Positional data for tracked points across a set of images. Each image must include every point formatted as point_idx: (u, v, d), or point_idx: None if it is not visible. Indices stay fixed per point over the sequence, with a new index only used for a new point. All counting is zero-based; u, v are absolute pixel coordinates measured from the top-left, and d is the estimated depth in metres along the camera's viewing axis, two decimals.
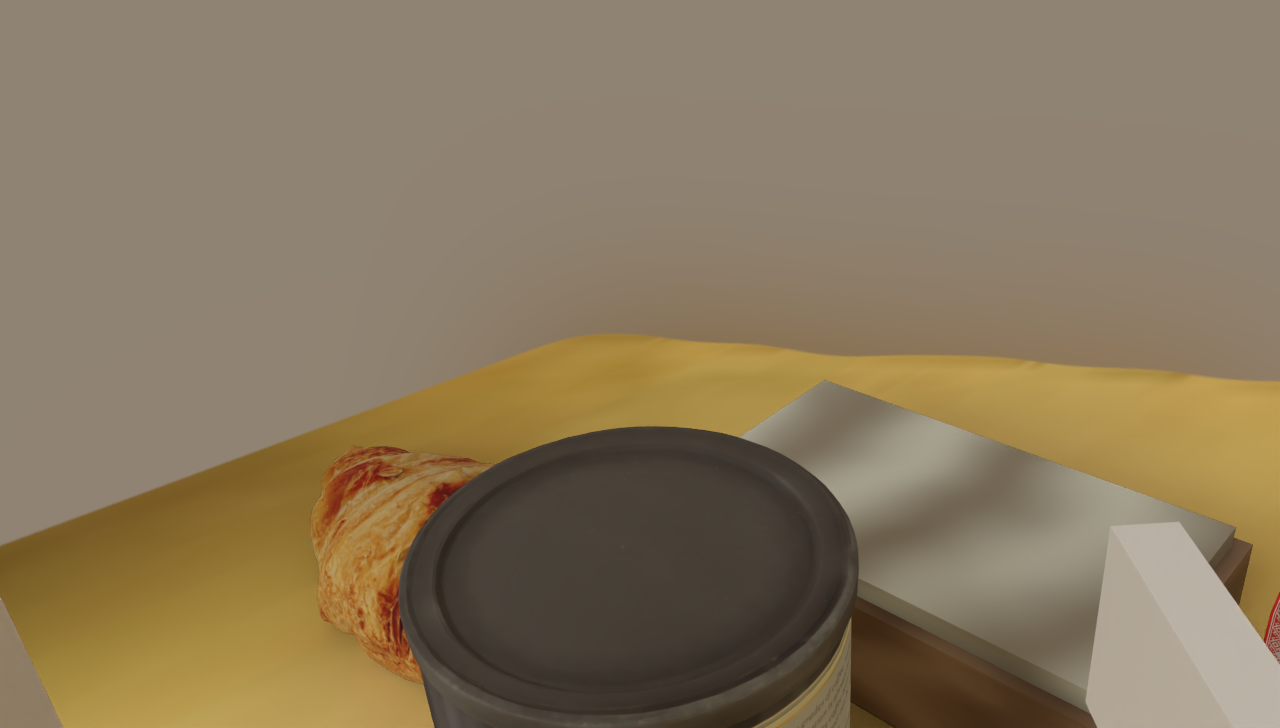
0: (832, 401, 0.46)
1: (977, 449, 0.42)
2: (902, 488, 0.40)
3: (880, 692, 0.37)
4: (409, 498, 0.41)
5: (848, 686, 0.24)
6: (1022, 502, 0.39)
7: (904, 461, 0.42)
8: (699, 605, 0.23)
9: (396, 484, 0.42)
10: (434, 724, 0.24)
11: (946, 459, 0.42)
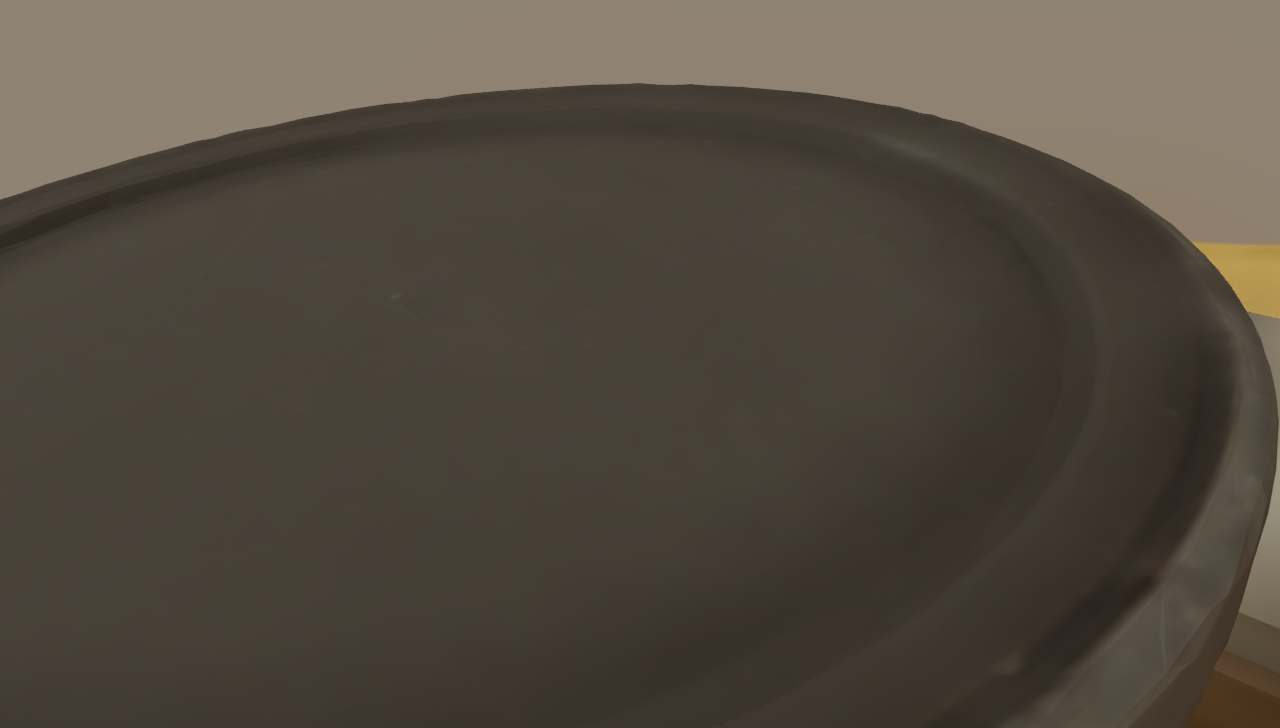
0: None
1: None
2: None
3: None
4: None
5: None
6: None
7: None
8: (632, 446, 0.06)
9: None
10: None
11: None
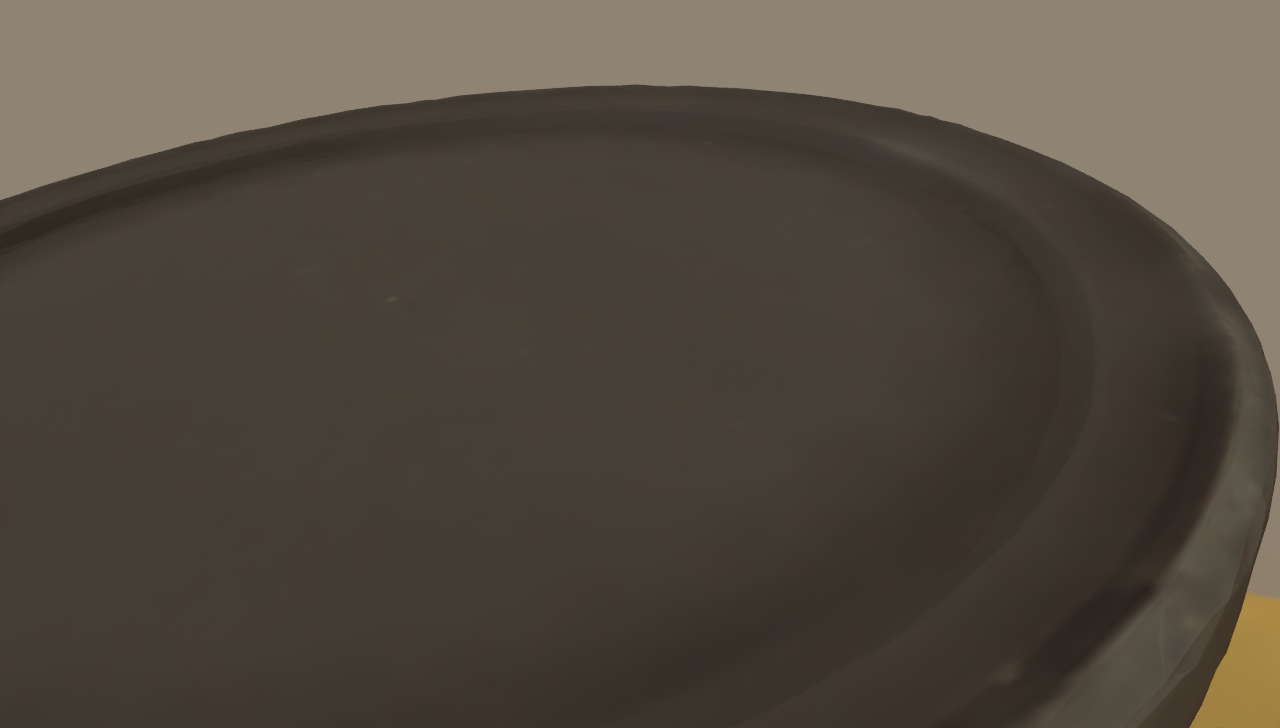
0: None
1: None
2: None
3: None
4: None
5: None
6: None
7: None
8: (626, 450, 0.06)
9: None
10: None
11: None
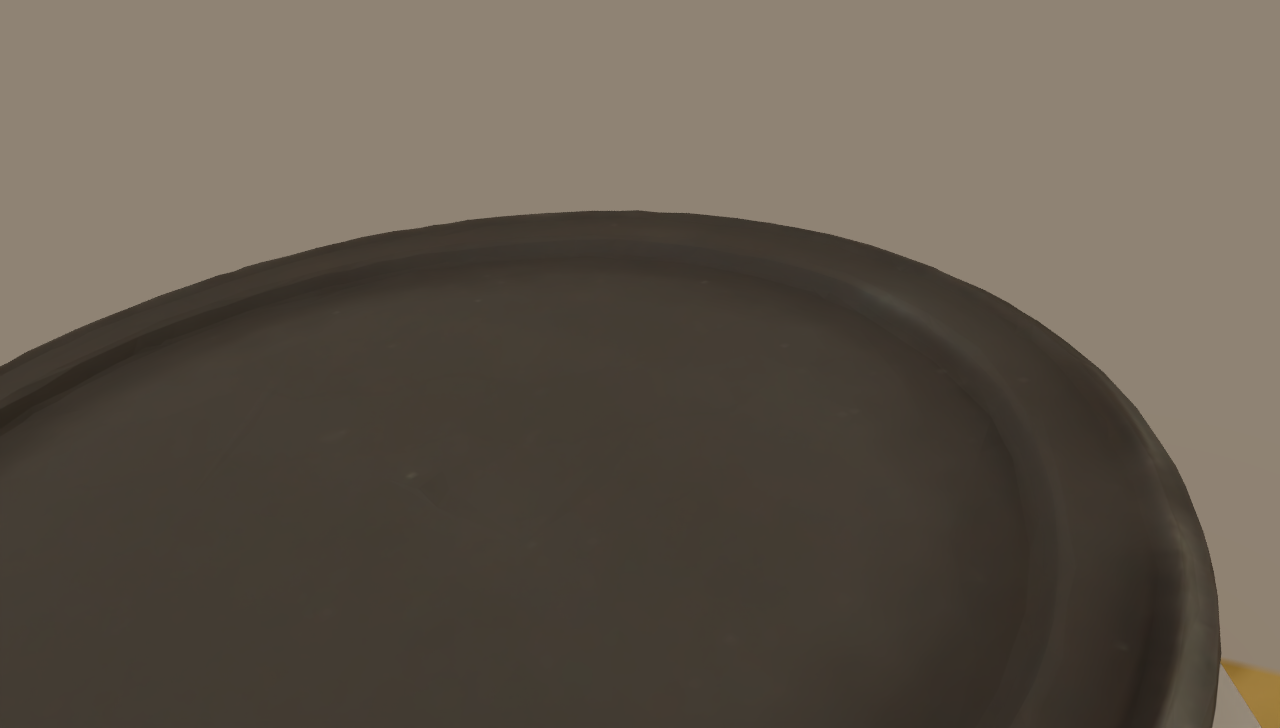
0: None
1: None
2: None
3: None
4: None
5: None
6: None
7: None
8: (631, 668, 0.06)
9: None
10: None
11: None
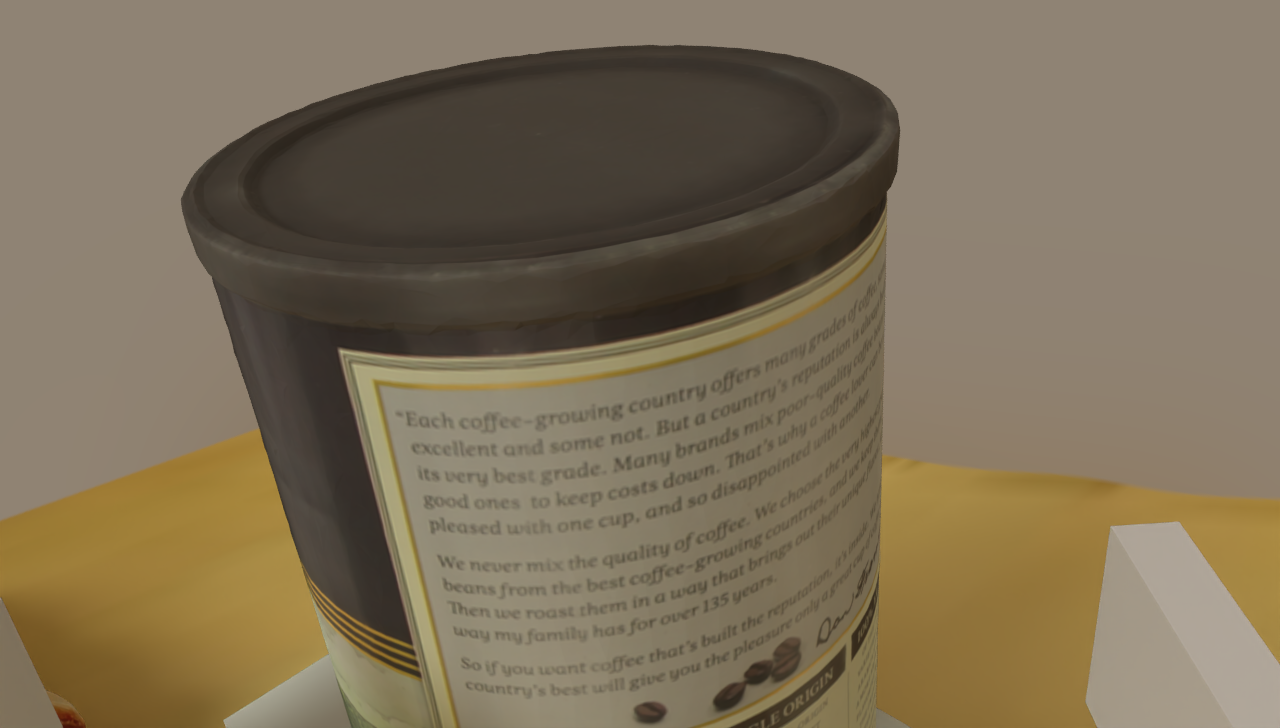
0: None
1: None
2: None
3: None
4: None
5: (882, 340, 0.16)
6: None
7: None
8: (647, 170, 0.14)
9: None
10: None
11: None
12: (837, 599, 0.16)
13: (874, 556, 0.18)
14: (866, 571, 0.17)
